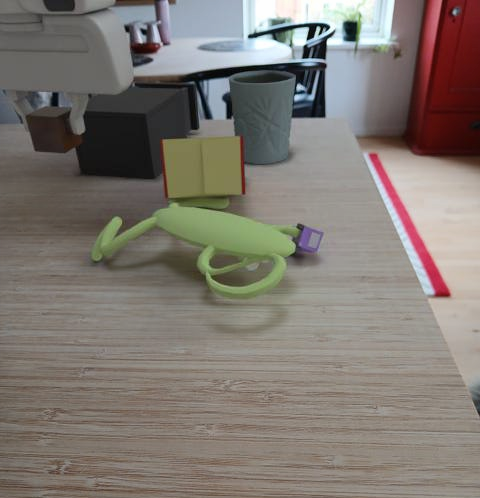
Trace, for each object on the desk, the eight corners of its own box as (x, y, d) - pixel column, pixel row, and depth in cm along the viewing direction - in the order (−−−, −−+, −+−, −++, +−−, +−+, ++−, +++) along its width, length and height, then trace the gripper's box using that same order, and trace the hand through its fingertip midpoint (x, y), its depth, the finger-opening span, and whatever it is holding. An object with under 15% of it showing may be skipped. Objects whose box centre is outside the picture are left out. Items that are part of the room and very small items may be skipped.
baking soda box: (177, 186, 75) (164, 198, 60) (173, 139, 73) (159, 139, 58) (242, 183, 75) (245, 194, 60) (240, 136, 73) (243, 135, 58)
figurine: (196, 226, 72) (193, 185, 70) (363, 258, 54) (366, 205, 52) (78, 257, 60) (69, 209, 58) (243, 310, 42) (240, 244, 40)
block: (34, 151, 59) (24, 115, 56) (53, 140, 62) (44, 105, 60) (65, 153, 58) (56, 117, 56) (83, 142, 61) (75, 107, 59)
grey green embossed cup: (227, 165, 81) (223, 83, 74) (237, 144, 89) (234, 69, 82) (291, 166, 80) (293, 83, 73) (295, 145, 88) (297, 68, 81)
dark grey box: (121, 144, 92) (111, 86, 86) (187, 148, 89) (182, 88, 83) (80, 173, 81) (66, 110, 75) (154, 179, 78) (145, 113, 72)
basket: (152, 118, 101) (147, 76, 97) (207, 121, 99) (204, 77, 94) (110, 148, 87) (101, 100, 83) (173, 152, 85) (167, 102, 80)
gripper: (-89, -8, 50) (-39, 135, 59) (98, -9, 46) (123, 146, 54) (-45, -13, 55) (-5, 119, 64) (128, -15, 51) (147, 128, 59)
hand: (55, 131), depth 59 cm, fingers closed on block, 4 cm apart
